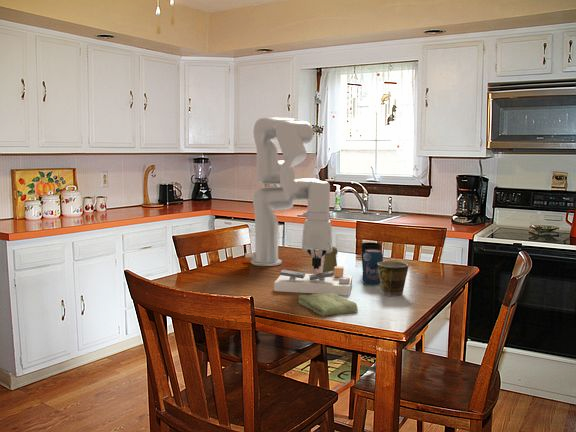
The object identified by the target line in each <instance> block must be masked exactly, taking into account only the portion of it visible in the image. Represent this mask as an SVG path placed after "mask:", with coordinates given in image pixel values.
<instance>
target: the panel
mask: <svg viewBox="0 0 576 432" xmlns="http://www.w3.org/2000/svg"><path fill="white" fill-rule="evenodd" d="M313 274H314V273H305V277H304V278H303V279H302V278H296V277H290V276H283V275H280V274H279V276H278V278H277V279H276V280H274V283H273V284H274V285H273V286H274V287H273V289H274V292H281V293H282V292H284V293H301V294H303V293H304V294H321V293H323V294H328V293H333V294H337V295H338V296H341V295H342V296H350V293H351V291H352V287H353V286H352V285H353V275H343V277H334V276H331V277H326V278H320V279H315V280H310V276H311V275H313Z"/></svg>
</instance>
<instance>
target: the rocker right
mask: <svg viewBox="0 0 576 432" xmlns="http://www.w3.org/2000/svg"><path fill="white" fill-rule="evenodd" d="M312 274H313V275H311V276H310V280H315V279H320V278H326V277H331V276H334V271H329V272H324V273H322V272H319V273H312Z"/></svg>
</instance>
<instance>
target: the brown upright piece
mask: <svg viewBox="0 0 576 432" xmlns="http://www.w3.org/2000/svg"><path fill="white" fill-rule="evenodd" d="M337 255H338V248H337V247H336V246H332V252H331V253H325V254H324V261H323V267H322V272H321V273H324V272H329V271H334V267H335V266H338V265H337Z"/></svg>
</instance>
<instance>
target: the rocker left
mask: <svg viewBox="0 0 576 432" xmlns="http://www.w3.org/2000/svg"><path fill="white" fill-rule="evenodd" d="M305 274H306V273H305V272H300V271H294V270H288V269H282V270H281V271H280V272H279V276H280V275H283V276H290V277H296V278H302V279H303V278H304V277H305Z"/></svg>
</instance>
